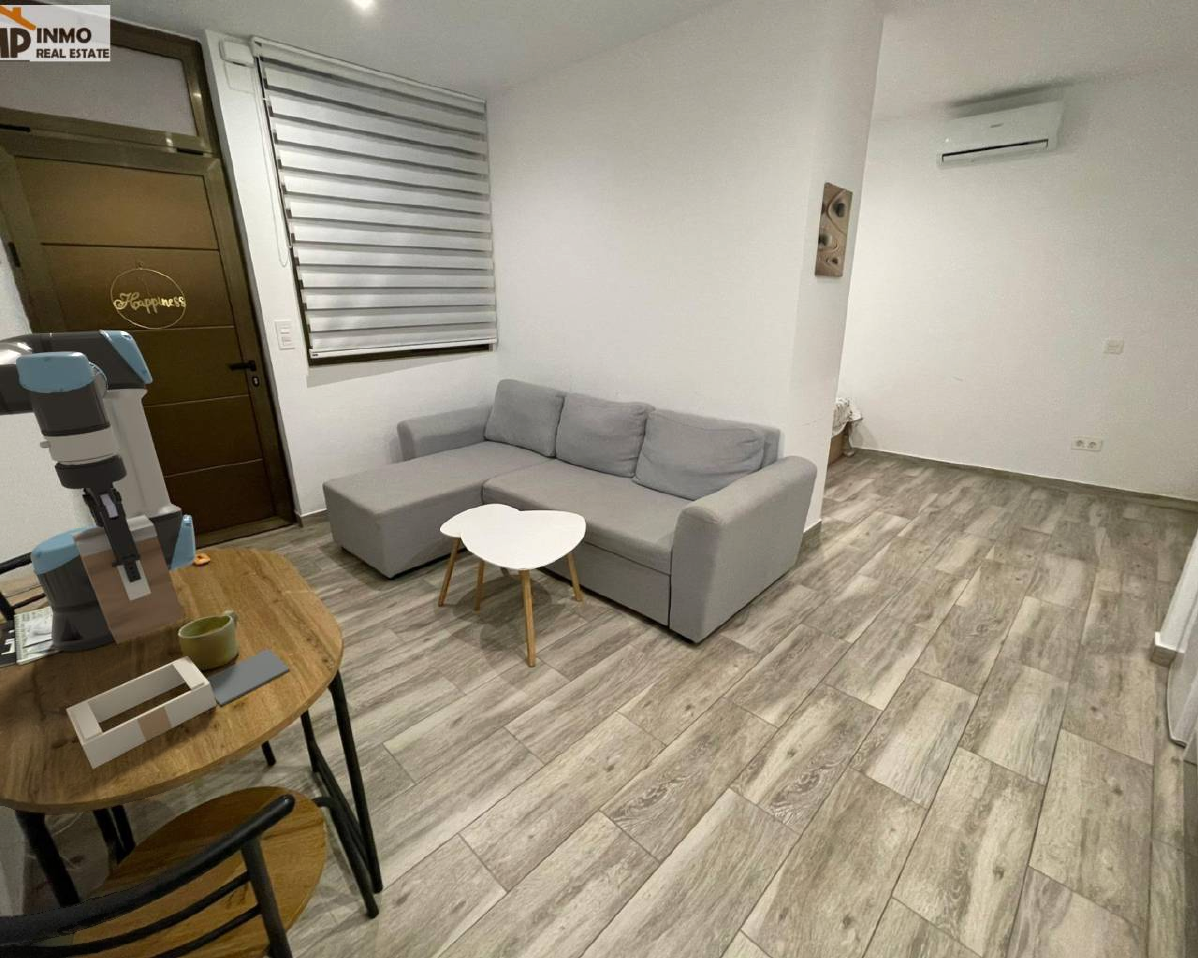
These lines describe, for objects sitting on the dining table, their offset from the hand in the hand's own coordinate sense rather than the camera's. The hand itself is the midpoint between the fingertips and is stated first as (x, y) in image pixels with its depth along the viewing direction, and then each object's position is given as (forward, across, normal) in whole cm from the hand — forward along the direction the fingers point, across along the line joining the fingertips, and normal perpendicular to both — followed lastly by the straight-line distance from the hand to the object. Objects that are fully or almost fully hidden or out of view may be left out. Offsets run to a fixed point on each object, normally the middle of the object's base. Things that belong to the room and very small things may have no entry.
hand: (135, 588), depth 87 cm
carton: (+25, -1, -4) cm, 25 cm away
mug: (+25, -11, +10) cm, 29 cm away
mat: (+25, +1, +11) cm, 27 cm away
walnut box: (+7, 0, 0) cm, 7 cm away
